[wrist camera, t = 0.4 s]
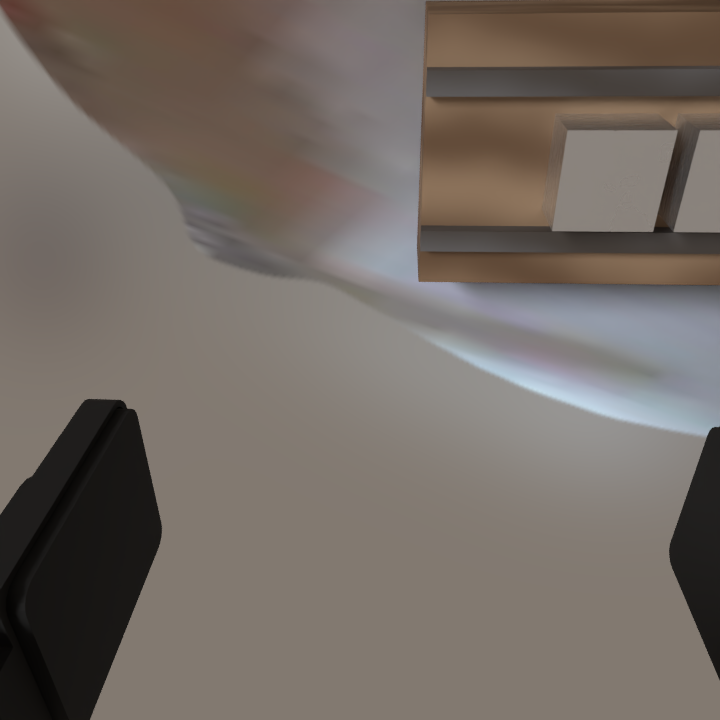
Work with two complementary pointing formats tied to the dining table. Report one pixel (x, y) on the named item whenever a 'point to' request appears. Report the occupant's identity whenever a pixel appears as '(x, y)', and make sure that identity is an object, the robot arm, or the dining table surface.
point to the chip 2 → (693, 175)
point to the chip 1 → (607, 171)
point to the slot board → (551, 133)
